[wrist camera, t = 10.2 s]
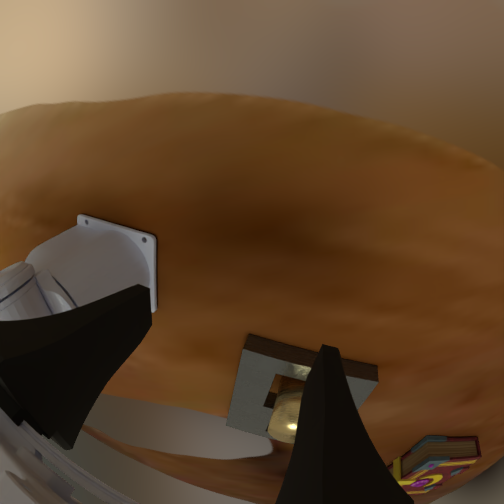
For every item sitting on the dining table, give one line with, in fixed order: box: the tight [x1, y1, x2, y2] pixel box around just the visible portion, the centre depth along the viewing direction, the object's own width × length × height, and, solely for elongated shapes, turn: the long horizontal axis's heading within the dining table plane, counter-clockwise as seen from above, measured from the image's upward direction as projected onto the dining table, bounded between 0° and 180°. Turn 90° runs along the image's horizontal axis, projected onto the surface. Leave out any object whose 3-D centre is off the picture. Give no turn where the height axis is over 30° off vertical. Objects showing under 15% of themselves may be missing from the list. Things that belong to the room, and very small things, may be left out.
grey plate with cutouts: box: [226, 334, 379, 444], centre depth 25 cm, size 12×14×2 cm
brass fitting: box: [268, 375, 306, 443], centre depth 23 cm, size 4×4×6 cm
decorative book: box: [387, 435, 482, 495], centre depth 26 cm, size 11×16×5 cm
